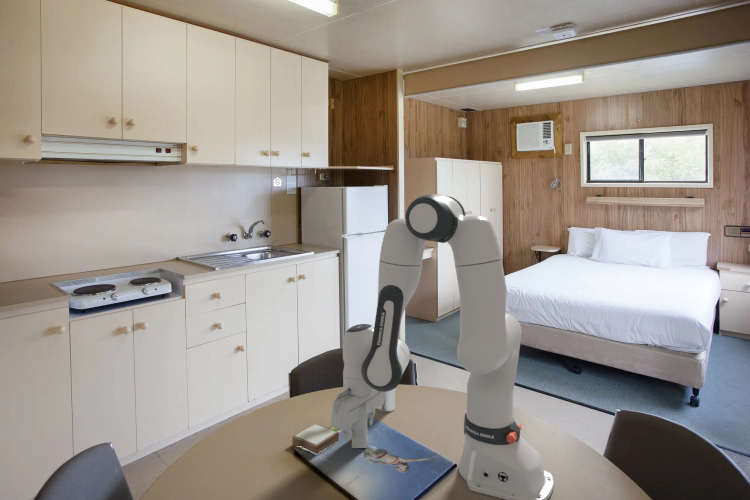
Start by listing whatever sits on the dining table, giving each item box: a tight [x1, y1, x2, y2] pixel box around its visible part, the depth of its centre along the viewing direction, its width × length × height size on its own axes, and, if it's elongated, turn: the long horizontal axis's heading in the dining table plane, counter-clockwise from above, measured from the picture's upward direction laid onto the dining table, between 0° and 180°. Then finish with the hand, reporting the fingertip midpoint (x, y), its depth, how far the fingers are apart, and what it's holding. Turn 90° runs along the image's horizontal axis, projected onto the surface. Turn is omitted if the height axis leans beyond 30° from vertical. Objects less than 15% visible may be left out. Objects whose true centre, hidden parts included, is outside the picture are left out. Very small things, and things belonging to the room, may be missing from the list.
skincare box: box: [351, 403, 369, 449], centre depth 129 cm, size 6×4×12 cm
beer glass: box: [377, 387, 397, 413], centre depth 150 cm, size 7×7×15 cm
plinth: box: [291, 423, 340, 454], centre depth 130 cm, size 9×9×3 cm
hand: (359, 430), depth 129 cm, fingers closed on skincare box, 7 cm apart
